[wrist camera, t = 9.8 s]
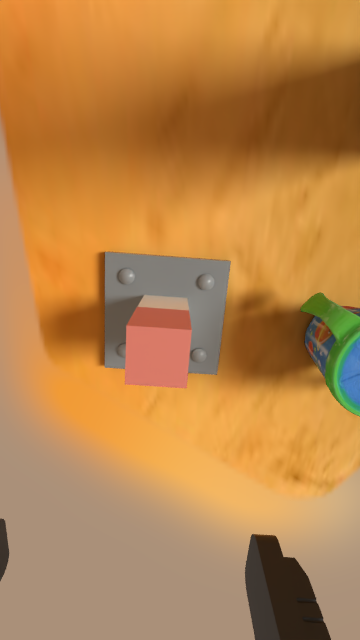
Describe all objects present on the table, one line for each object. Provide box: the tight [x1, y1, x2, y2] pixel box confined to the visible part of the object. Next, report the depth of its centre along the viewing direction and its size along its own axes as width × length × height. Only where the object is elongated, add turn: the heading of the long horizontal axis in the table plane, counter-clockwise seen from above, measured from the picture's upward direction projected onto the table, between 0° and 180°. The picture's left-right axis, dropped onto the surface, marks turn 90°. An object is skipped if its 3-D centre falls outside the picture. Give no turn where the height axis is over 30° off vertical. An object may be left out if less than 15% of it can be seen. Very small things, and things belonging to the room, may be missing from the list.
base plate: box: [105, 252, 231, 375], centre depth 35 cm, size 14×14×1 cm
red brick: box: [125, 307, 192, 388], centre depth 26 cm, size 5×5×6 cm
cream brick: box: [138, 295, 189, 310], centre depth 32 cm, size 5×5×6 cm
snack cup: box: [300, 293, 360, 417], centre depth 32 cm, size 16×10×10 cm
